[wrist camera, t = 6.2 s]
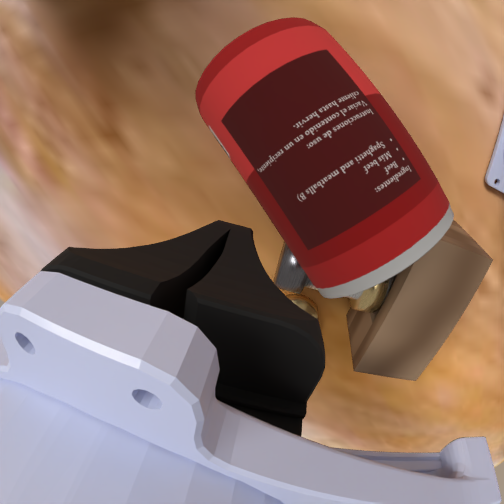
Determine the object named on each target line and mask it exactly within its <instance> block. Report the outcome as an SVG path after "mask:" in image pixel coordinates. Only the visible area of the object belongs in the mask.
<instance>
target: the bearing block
mask: <svg viewBox="0 0 504 504" xmlns="http://www.w3.org/2000/svg"><path fill="white" fill-rule="evenodd" d="M492 261H493V260H492V258H491V257H490V256H489V255H488V254H487V253H486V252H485V251H484V250H483V249H482V248H481V247H480V246H479V245H478V244H477V242H476V241H475V240H474V239H473V238H472V237H471V236H470V235H469V234H468V233H467V232H466V231H465V230H464V229H463V228H462V227H461V226H460V225H459V224H458V223H457V222H455V221H454V220H453V221H452V224H451V226H450V228H449V229H448V230H447V232H446V233H445V234H444V236H443V237H442V238H441V239H440V241H439V242H438V243H437V244H436V245H435V246H434V247H433V248H432V249H431V250H430V251H428V252H427V253H426V254H425V255H424V256H422V257H421V258H420V259H419V260H418V261H416V262H415V263H413V264H412V265H410V266H409V267H408V268H406V269H405V270H403V271H402V272H400V273H398V274H397V277H396V279H395V281H394V283H393V285H392V287H391V289H390V291H389V293H388V295H387V297H386V299H385V301H384V303H383V305H382V306H380V307H379V308H378V310H377V311H376V312H374V313H367V312H363V311H359V310H355V309H352V308H351V307H350V309H349V311H348V313H347V315H346V316H347V322H348V329H349V336H350V344H351V352H352V360H353V368H354V371H356V372H362V373H368V374H374V375H380V376H386V377H392V378H399V379H406V380H413V381H416V380H417V379H418V377H419V376H420V375H421V373H422V372H423V371H424V369H425V368H426V367H427V365H428V364H429V363H430V361H431V360H432V359H433V357H434V356H435V355H436V353H437V352H438V350H439V349H440V348H441V346H442V345H443V343H444V342H445V340H446V339H447V337H448V336H449V334H450V333H451V331H452V330H453V328H454V327H455V325H456V324H457V322H458V321H459V319H460V317H461V316H462V314H463V313H464V311H465V309H466V308H467V306H468V304H469V303H470V301H471V299H472V298H473V296H474V294H475V292H476V291H477V289H478V287H479V285H480V284H481V282H482V280H483V278H484V276H485V274H486V272H487V271H488V269H489V267H490V265H491V263H492Z"/></svg>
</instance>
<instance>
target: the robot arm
mask: <svg viewBox="0 0 504 504" xmlns="http://www.w3.org/2000/svg"><path fill="white" fill-rule="evenodd" d="M496 179H497V183H496V184H495V183H494V182H495V180H496ZM485 182H486V183H487V184H488V185H489V186H491V187H493V188H495V189H497V190H499V191H500V192H502V193H504V116H503V120H502V124H501V128H500V131H499V135H498V138H497V142H496V145H495V148H494V152H493V155H492V158H491V161H490V164H489V167H488V170H487V173H486V176H485ZM324 369H325V349H324V342H323V338H322V333H321V329H320V325H319V321H318V319H317V318H315V317H314V316H312V315H310V314H309V313H307V312H306V311H304V310H303V309H301V308H300V307H298V306H297V305H296V304H295V303H293V302H292V301H291V300H290V299H289V298H288V297H286V296H285V295H284V294H283V293H282V292H281V291H280V290H279V288H278V287H277V286H276V285H275V284H274V283H273V281H272V280H271V279H270V278H269V276H268V275H267V273H266V271H265V270H264V268H263V266H262V264H261V261H260V259H259V257H258V254H257V251H256V248H255V245H254V240H253V231H252V229H251V228H247V227H243V226H239V225H235V224H232V223H228V222H224V221H220V220H218V221H215V222H213V223H211V224H209V225H206V226H204V227H202V228H200V229H197V230H195V231H193V232H190V233H187V234H185V235H182V236H179V237H177V238H174V239H171V240H167V241H164V242H159V243H155V244H151V245H144V246H137V247H130V248H118V249H89V248H74V247H68V248H67V249H66V250H65V251H63V252H62V253H61V254H60V255H58V256H57V257H56V258H55V259H53V260H52V261H51V262H50V263H49V264H47V265H46V266H45V267H44V268H43V269H42V270H41V271H40V272H39V273H38V274H36V275H35V276H34V277H33V278H32V279H31V280H30V281H28V282H27V283H26V284H25V285H24V286H23V287H22V288H21V289H19V290H18V291H17V292H16V293H15V294H14V295H13V296H12V297H11V298H10V299H9V300H7V301H6V302H5V303H4V304H3V306H2V307H1V308H0V504H499V503H500V502H501V495H500V490H499V486H498V482H497V478H496V473H495V469H494V465H493V462H492V458H491V454H490V451H489V447H488V444H487V441H486V437H483V436H482V437H462V438H458V439H456V440H453V441H452V442H450V443H449V444H447V445H446V446H445V447H444V448H443V449H442V450H441V452H436V453H401V452H377V451H362V450H351V449H341V448H332V447H328V446H325V445H322V444H319V443H317V442H314V441H311V440H308V439H306V438H303V437H301V432H302V419H304V417H305V415H306V408H307V400H308V399H309V397H310V396H311V394H312V392H313V391H314V389H315V387H316V386H317V384H318V382H319V381H320V379H321V377H322V374H323V371H324Z"/></svg>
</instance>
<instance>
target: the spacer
mask: <svg viewBox="0 0 504 504" xmlns="http://www.w3.org/2000/svg"><path fill="white" fill-rule="evenodd" d="M286 297H288V298H289V299H290V300H291V301H292V302H293V303H295V304H296V305H297V306H298V307H300V308H301V309H303V310H304V311H306V312H307V313H309V314H310V315H312V316H314V317H315V318H317V319H318V310H317V307H316V305H315V303H314V302H313V301H312V300H311V299H310V298H308V297H306V296H303V295H299V294H291V295H286Z"/></svg>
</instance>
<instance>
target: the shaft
mask: <svg viewBox="0 0 504 504" xmlns="http://www.w3.org/2000/svg"><path fill="white" fill-rule="evenodd" d="M396 277H397V275H395V276H393V277H392V278H390V279H388V280H386V281H384V282H382V283H380V284H378V285H376V286H374V287H372V288H370V289H367V290H364V291H362V292H359V293H356V294H353V295H349V296H345V297H346V298H350V306H351V308H352V309H355V310H359V311H363V312H367V313H374V312H376V311H377V310H378V308H379V307H380V306H382V305H383V303H384V301H385V299H386V297H387V295H388V293H389V291H390V289H391V287H392V285H393V283H394V281H395V279H396ZM274 284H275V285H276V286H277V287H278V288H279V289H282V290H286V291H290V292H294V293H298V294H300V293H301V292H302V290H303V288H304V287H308V288H311V289H315V290H318V289H317V288H316V287H315V286H314V285H313V284H312V282H311V281H310V279H309V278H308V276H307V274H306V273H305V271H304V270H303V269H302V267H301V266H300V264H299V263H298V261H297V260H296V258H295V257H294V255H293V253H292V252H291V250H290V249H289V247H288V246H287V244H286V243H285V241H284V244H283V247H282V250H281V254H280V258H279V261H278V265H277V269H276V273H275V278H274Z"/></svg>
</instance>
